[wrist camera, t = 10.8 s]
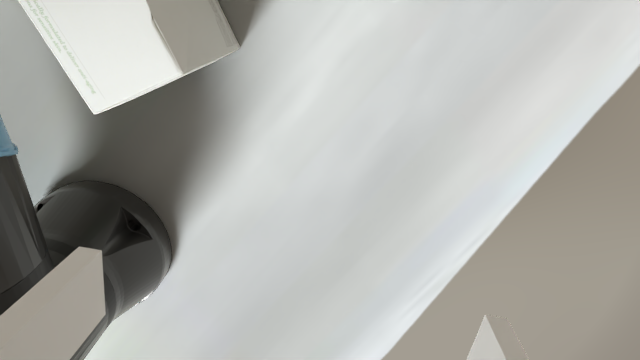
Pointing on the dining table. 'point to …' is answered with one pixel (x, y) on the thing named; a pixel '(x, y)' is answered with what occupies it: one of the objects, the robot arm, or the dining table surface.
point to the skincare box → (130, 43)
